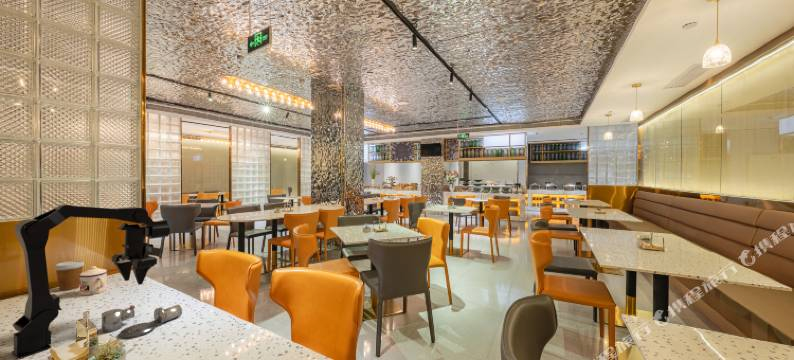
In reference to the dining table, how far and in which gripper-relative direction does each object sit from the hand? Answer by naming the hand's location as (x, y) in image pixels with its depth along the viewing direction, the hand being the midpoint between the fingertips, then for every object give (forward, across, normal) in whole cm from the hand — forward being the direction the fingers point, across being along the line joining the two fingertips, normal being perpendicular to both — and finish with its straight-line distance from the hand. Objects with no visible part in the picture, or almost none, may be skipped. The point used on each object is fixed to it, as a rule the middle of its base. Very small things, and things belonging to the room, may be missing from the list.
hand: (133, 282), depth 112 cm
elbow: (+13, -4, +6) cm, 15 cm away
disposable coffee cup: (+14, +62, -3) cm, 64 cm away
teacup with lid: (+13, +45, -6) cm, 48 cm away
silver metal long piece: (+13, -14, 0) cm, 19 cm away
